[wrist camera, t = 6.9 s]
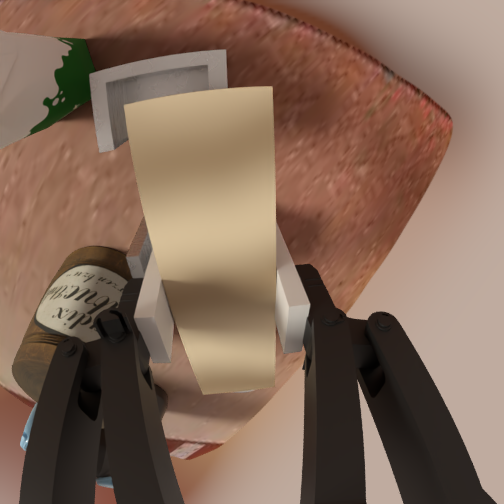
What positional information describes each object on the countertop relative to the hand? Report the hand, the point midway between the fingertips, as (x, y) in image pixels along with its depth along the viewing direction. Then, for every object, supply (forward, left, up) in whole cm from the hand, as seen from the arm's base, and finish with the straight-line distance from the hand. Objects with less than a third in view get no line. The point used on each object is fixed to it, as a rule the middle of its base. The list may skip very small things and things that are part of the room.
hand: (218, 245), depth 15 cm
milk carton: (+12, +15, -16) cm, 26 cm away
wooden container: (-16, +18, -17) cm, 29 cm away
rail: (0, 0, -1) cm, 1 cm away
